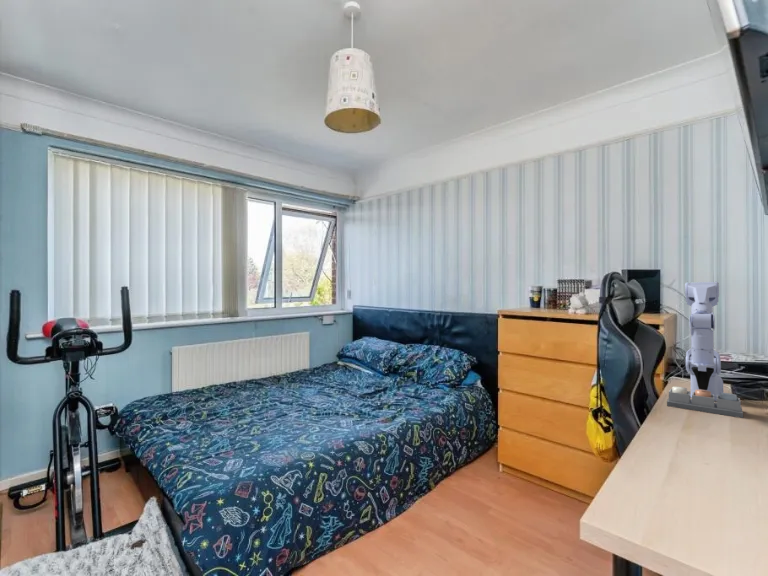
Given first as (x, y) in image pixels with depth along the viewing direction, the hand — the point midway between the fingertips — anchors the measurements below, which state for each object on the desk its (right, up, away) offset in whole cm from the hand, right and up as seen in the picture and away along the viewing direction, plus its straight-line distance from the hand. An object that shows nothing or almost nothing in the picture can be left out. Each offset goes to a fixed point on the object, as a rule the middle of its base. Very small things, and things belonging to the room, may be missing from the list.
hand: (703, 389), depth 124 cm
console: (0, -6, 0) cm, 6 cm away
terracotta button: (0, -4, 0) cm, 4 cm away
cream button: (-5, -4, +4) cm, 7 cm away
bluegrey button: (+5, -3, -4) cm, 7 cm away
